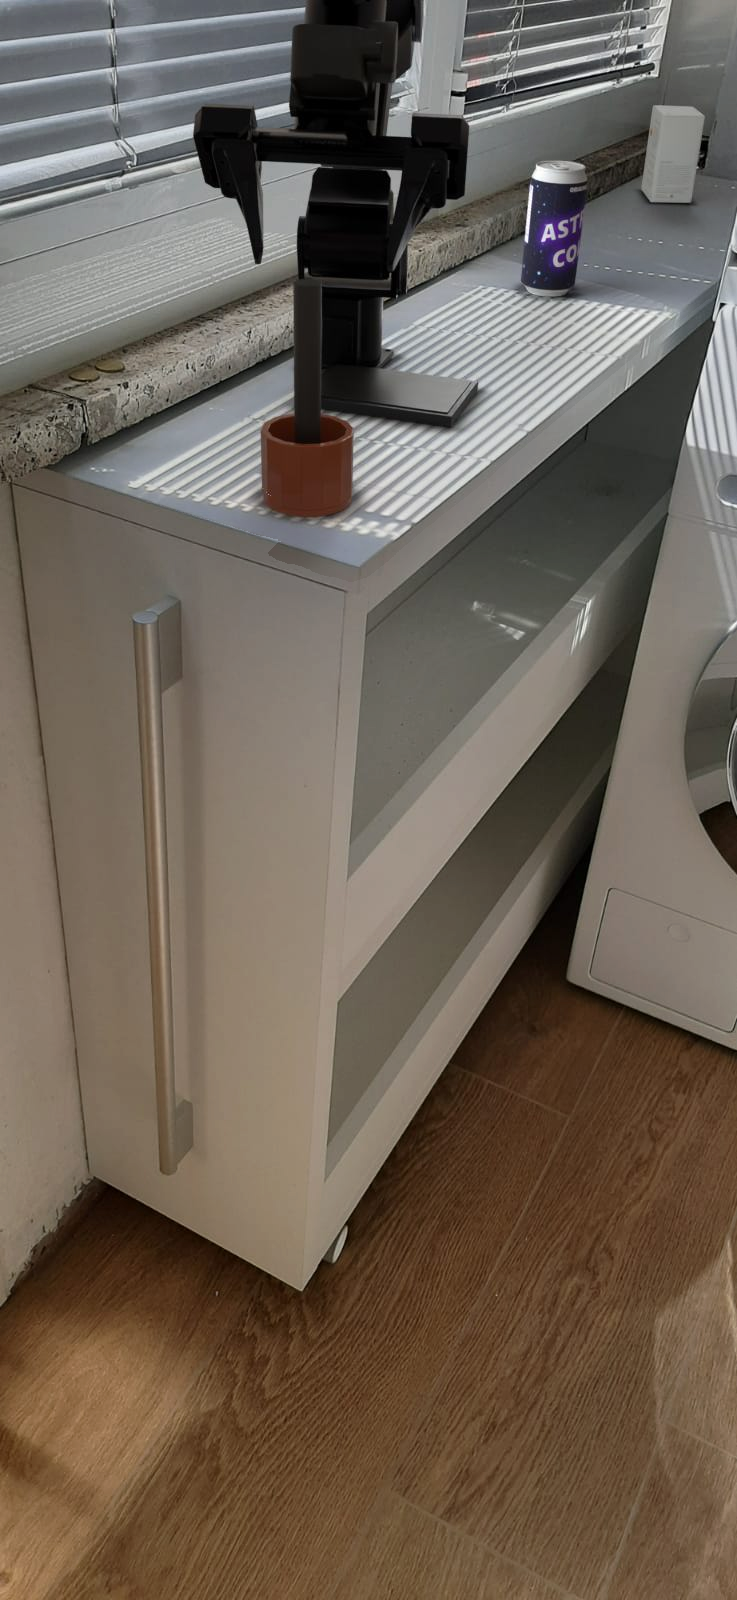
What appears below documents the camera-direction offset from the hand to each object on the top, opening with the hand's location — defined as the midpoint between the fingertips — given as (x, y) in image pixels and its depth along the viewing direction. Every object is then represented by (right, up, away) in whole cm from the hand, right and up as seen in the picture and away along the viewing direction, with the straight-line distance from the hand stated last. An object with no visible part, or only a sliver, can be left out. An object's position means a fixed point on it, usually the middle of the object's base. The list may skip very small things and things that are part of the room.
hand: (323, 264), depth 86 cm
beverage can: (+22, +17, +46) cm, 53 cm away
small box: (+43, +45, +84) cm, 105 cm away
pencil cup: (-1, -16, +2) cm, 16 cm away
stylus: (-1, -15, +1) cm, 15 cm away
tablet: (+5, -3, +18) cm, 19 cm away
